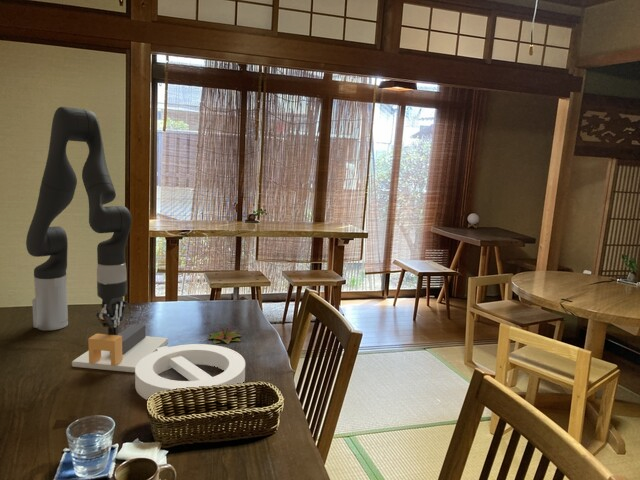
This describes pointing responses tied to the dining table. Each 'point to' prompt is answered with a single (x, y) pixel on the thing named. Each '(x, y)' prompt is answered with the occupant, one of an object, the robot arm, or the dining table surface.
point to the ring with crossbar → (187, 367)
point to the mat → (123, 356)
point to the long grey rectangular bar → (132, 337)
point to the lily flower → (224, 334)
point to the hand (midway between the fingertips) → (113, 338)
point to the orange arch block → (105, 347)
